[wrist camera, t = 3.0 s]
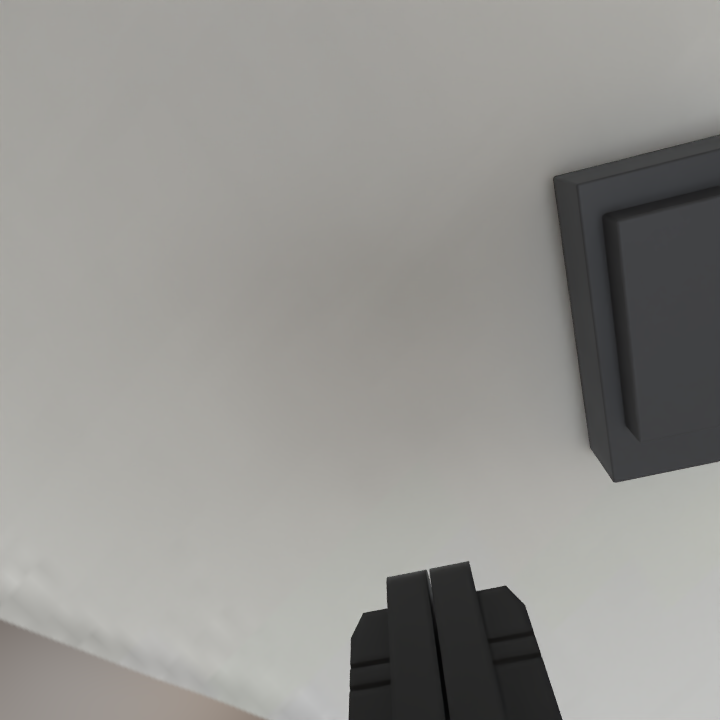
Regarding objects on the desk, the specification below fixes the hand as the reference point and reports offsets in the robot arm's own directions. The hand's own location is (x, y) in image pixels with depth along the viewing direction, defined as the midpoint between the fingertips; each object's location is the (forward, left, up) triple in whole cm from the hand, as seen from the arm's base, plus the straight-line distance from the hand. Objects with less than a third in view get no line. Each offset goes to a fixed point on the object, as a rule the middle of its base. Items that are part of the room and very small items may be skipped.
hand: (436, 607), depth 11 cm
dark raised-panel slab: (0, +9, -12) cm, 15 cm away
